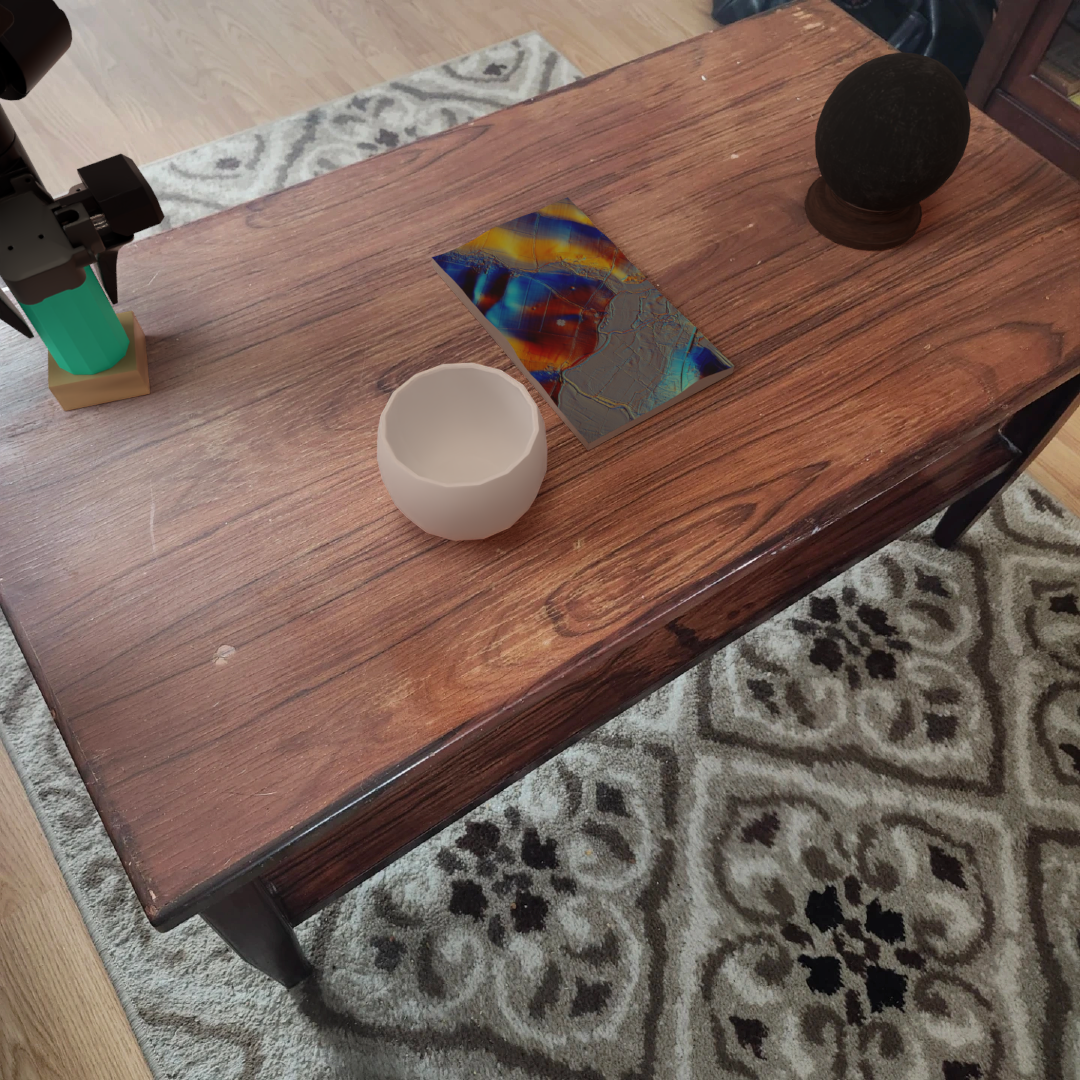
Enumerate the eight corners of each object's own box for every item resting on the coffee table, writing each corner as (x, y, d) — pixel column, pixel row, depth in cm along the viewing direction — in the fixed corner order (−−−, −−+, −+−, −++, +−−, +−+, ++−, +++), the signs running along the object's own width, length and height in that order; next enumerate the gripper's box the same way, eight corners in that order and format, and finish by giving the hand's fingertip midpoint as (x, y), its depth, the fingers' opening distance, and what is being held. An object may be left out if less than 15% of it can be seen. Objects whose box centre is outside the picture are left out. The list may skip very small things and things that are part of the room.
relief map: (732, 373, 78) (737, 357, 77) (588, 450, 74) (589, 435, 72) (567, 208, 89) (568, 191, 88) (432, 267, 85) (430, 250, 83)
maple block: (62, 351, 79) (47, 326, 76) (145, 335, 80) (132, 310, 78) (64, 411, 76) (47, 387, 73) (150, 393, 77) (137, 369, 74)
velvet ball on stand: (931, 180, 92) (996, 33, 79) (927, 268, 85) (997, 123, 73) (801, 159, 94) (844, 11, 81) (787, 243, 87) (831, 97, 74)
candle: (41, 347, 75) (-36, 230, 65) (105, 311, 77) (40, 192, 67) (78, 387, 73) (5, 272, 63) (143, 348, 75) (83, 231, 65)
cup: (495, 593, 67) (490, 524, 59) (358, 524, 70) (335, 448, 62) (573, 475, 73) (579, 396, 64) (443, 415, 76) (433, 332, 67)
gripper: (-155, 269, 53) (-17, 436, 66) (153, 158, 58) (223, 332, 72) (-195, 167, 57) (-59, 341, 71) (93, 73, 63) (169, 251, 76)
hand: (72, 317), depth 72 cm, fingers closed on candle, 6 cm apart
